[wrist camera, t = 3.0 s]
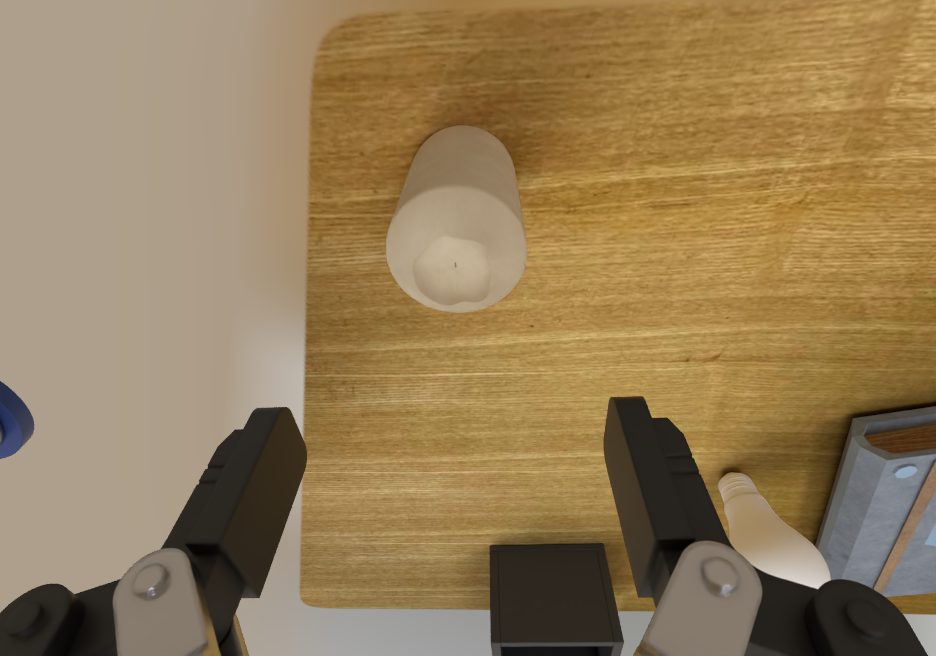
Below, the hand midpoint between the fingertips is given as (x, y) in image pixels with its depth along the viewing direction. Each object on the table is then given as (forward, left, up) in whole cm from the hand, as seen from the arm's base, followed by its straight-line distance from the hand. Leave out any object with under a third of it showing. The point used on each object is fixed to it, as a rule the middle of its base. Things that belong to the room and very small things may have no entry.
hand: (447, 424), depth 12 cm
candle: (0, 0, -17) cm, 17 cm away
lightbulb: (+20, -26, -17) cm, 37 cm away
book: (+36, -28, -17) cm, 49 cm away
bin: (+5, -42, -17) cm, 46 cm away
